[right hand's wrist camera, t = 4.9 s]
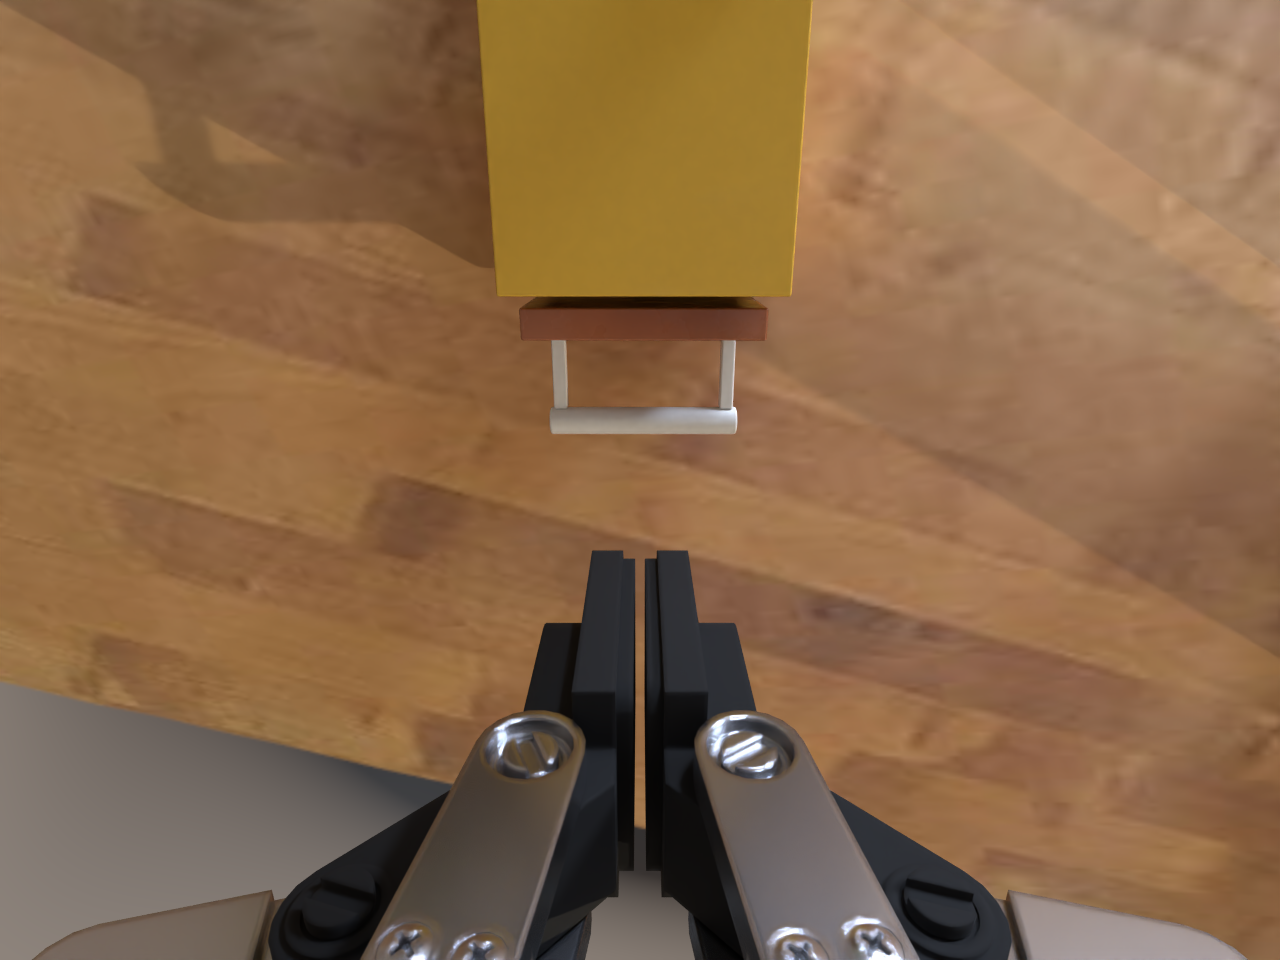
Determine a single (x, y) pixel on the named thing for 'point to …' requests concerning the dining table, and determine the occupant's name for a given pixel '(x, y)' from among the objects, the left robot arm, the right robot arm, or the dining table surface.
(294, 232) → the dining table surface
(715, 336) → the drawer
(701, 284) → the cabinet
